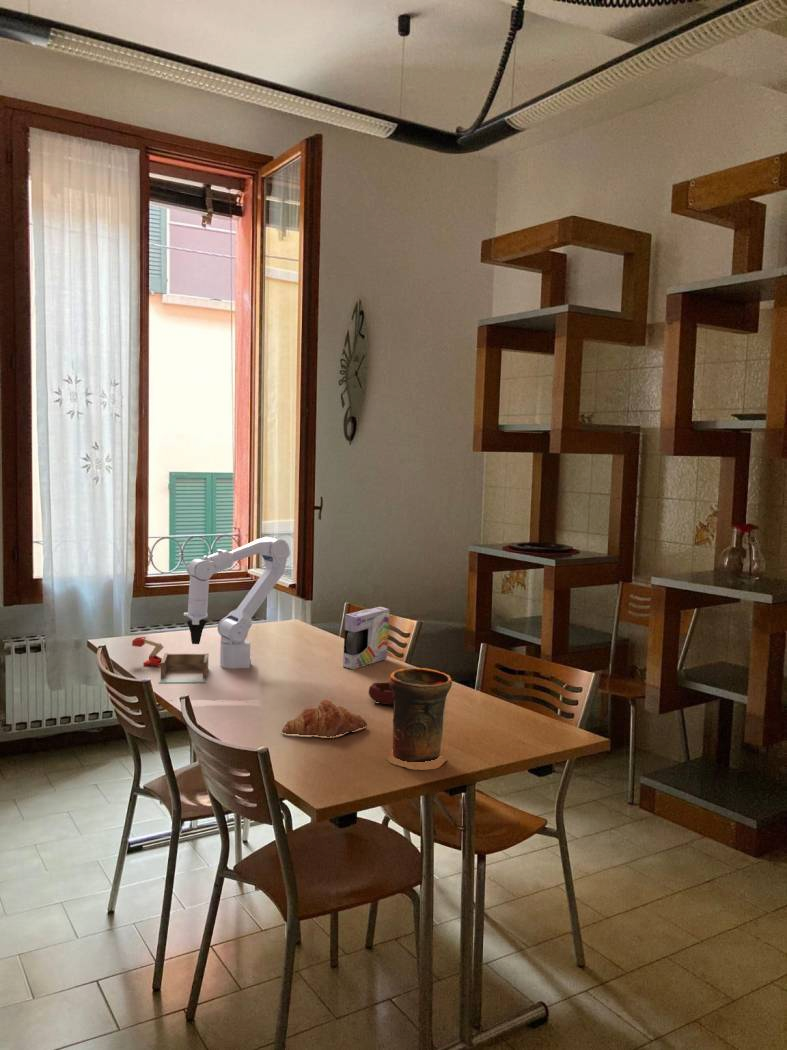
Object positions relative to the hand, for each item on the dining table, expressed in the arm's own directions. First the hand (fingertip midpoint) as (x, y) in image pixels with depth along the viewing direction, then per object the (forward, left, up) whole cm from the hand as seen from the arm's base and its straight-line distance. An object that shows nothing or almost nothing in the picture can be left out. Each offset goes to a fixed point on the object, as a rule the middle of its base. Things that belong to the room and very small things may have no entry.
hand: (195, 643), depth 261 cm
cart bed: (+3, +4, -9) cm, 11 cm away
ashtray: (-60, +29, -10) cm, 67 cm away
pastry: (-35, +53, -10) cm, 64 cm away
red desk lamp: (+12, -5, -10) cm, 17 cm away
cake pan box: (-53, -12, -10) cm, 56 cm away
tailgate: (+3, +10, -8) cm, 13 cm away
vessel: (-55, +73, -10) cm, 91 cm away
